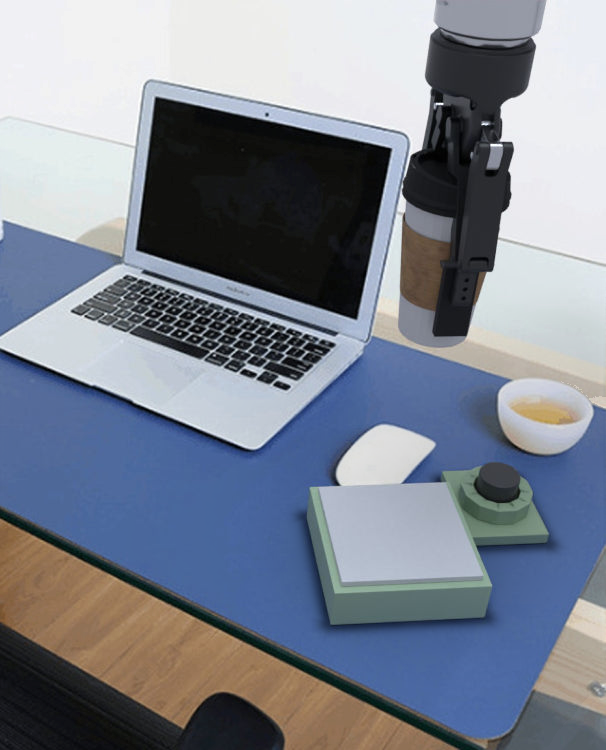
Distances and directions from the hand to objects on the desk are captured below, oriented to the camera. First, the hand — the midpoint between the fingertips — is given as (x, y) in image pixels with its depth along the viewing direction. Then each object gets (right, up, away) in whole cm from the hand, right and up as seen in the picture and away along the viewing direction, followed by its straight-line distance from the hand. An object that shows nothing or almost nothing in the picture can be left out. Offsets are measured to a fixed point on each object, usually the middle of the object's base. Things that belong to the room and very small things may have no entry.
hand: (436, 307), depth 85 cm
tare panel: (+9, -19, +17) cm, 27 cm away
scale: (-2, -24, +10) cm, 26 cm away
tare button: (+9, -17, +16) cm, 25 cm away
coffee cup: (0, -2, +1) cm, 2 cm away
